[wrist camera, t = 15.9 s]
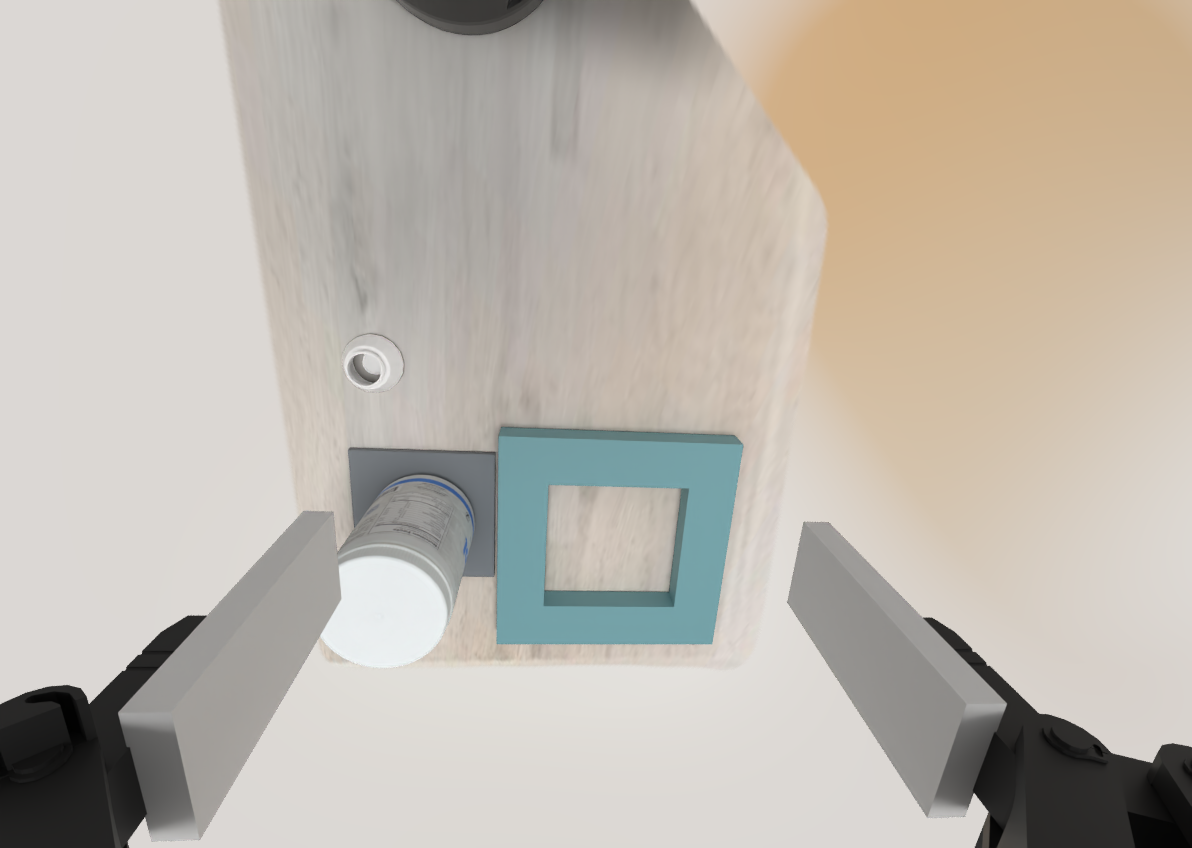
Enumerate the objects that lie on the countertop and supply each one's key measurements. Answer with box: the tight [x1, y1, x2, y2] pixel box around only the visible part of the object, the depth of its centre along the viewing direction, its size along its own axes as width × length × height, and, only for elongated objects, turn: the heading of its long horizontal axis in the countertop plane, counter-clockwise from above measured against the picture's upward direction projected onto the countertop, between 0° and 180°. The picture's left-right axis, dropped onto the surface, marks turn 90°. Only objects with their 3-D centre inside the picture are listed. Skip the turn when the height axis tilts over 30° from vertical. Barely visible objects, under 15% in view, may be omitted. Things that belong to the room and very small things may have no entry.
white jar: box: [342, 334, 404, 393], centre depth 46 cm, size 5×3×5 cm
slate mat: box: [348, 448, 495, 577], centre depth 52 cm, size 13×13×1 cm
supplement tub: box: [320, 475, 475, 668], centre depth 45 cm, size 10×10×15 cm
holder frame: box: [497, 427, 743, 644], centre depth 54 cm, size 22×22×2 cm
